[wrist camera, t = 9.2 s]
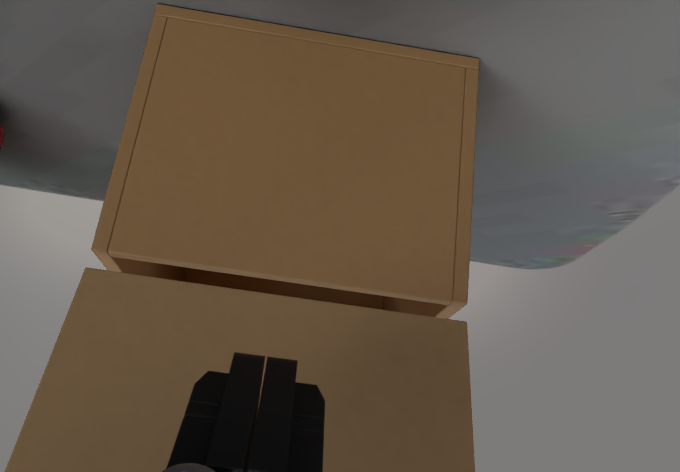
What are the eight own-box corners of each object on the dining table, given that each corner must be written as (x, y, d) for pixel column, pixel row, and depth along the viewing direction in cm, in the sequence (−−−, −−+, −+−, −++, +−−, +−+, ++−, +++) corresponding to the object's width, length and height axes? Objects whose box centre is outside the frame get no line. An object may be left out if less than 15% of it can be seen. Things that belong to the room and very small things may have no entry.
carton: (156, 2, 23) (83, 274, 20) (479, 57, 24) (466, 328, 20) (197, 177, 37) (159, 353, 34) (399, 208, 38) (383, 383, 34)
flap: (87, 273, 20) (85, 266, 19) (463, 327, 20) (467, 321, 20) (-12, 528, 15) (-18, 523, 15) (476, 584, 16) (481, 581, 16)
